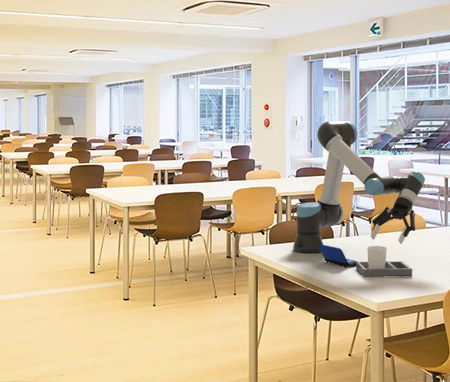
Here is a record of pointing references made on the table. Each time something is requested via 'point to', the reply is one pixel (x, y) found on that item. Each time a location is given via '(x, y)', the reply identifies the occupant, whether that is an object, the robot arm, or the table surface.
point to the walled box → (390, 269)
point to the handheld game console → (336, 256)
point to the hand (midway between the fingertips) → (385, 239)
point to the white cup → (376, 257)
